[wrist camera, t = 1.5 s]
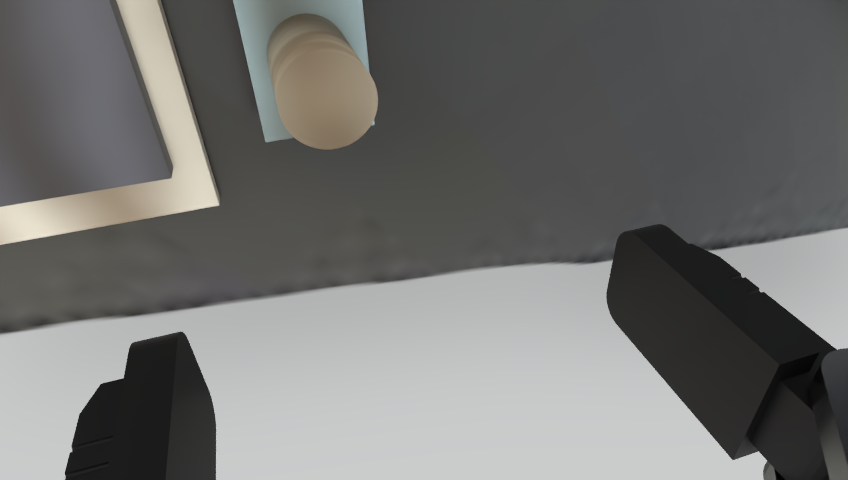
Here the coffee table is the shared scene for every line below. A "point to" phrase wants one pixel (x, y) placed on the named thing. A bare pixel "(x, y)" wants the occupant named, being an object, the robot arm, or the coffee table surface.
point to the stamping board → (94, 119)
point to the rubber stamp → (309, 69)
